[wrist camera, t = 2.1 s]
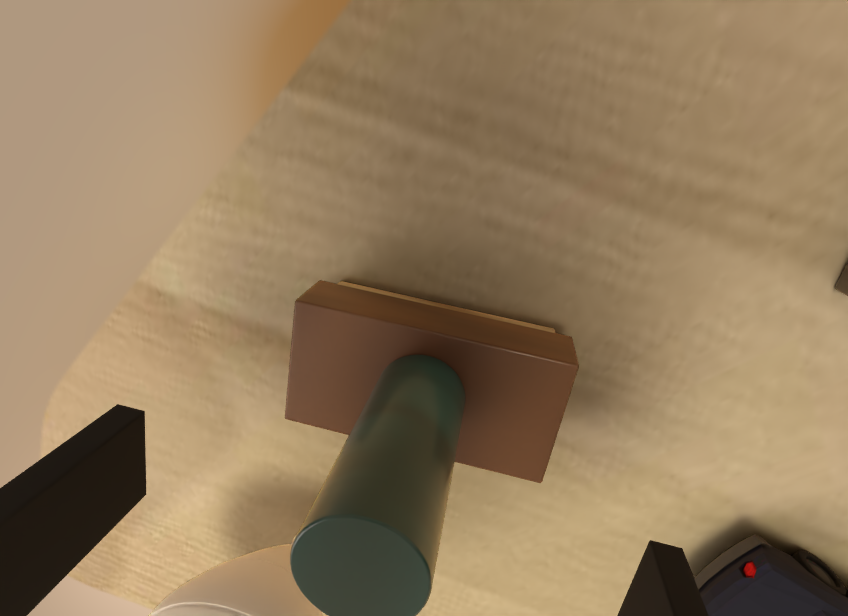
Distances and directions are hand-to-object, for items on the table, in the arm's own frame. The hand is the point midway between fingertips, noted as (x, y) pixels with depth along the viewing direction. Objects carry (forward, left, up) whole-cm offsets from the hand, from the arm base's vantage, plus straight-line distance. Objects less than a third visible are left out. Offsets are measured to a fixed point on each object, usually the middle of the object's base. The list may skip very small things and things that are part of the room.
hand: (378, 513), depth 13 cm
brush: (0, 0, -10) cm, 10 cm away
